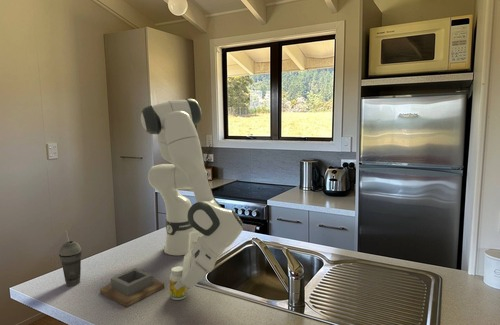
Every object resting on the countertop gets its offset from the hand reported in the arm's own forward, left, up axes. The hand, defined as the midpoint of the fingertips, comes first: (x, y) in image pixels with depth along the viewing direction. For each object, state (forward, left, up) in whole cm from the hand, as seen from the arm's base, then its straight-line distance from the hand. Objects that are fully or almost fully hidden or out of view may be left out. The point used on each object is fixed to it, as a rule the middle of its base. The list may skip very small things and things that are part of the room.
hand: (176, 282), depth 111 cm
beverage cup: (+16, -38, -5) cm, 41 cm away
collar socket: (+6, -16, -5) cm, 17 cm away
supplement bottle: (0, 0, -5) cm, 5 cm away
